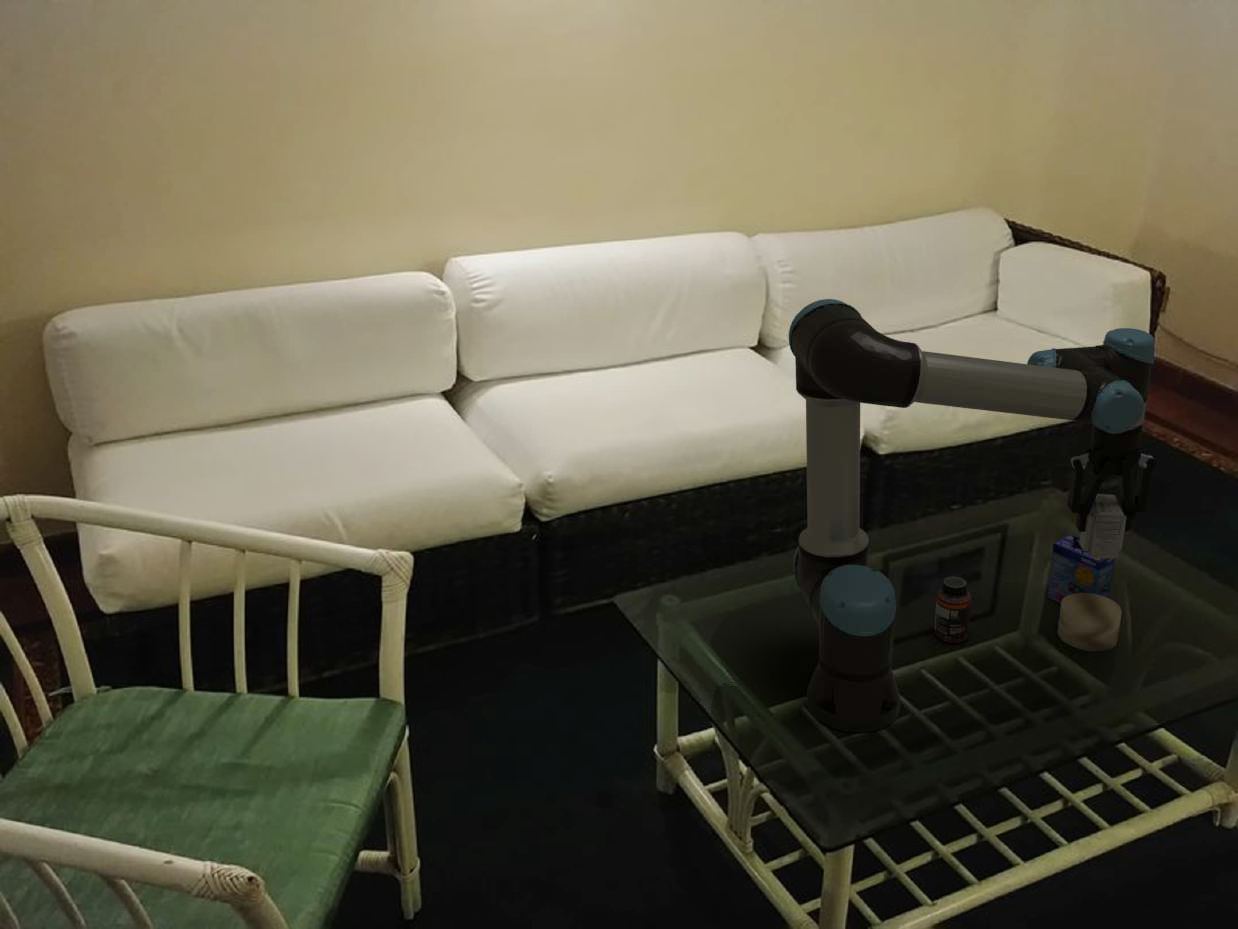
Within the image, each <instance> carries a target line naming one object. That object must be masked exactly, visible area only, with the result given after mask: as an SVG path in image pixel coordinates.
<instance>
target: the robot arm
mask: <svg viewBox="0 0 1238 929" xmlns="http://www.w3.org/2000/svg"><path fill="white" fill-rule="evenodd" d="M788 345H789V348H790V351H791V353H792V355H793V356H794V358H795V389H796V392H797V393H798V395H799V396H801V397H802V398H803V399H805V428H806V430H805V435H806V436H805V437H806V439H805V440H806V444H805V445H806V494H807V495H806V499H807V500H806V504H807V505H806V506H807V507H806V509H807V527H806V528H805V529H804V530H802V531H801V532H800V534H799V536H798V545H797V548H796V549H795V551H794V552H795V553H794V555H793V559H792V565H793V566H792V567H793V573H794V574H793V575H794V579H795V581H796V584H797V586H798V588H799V589H800V591H801V592H802V594H803V595H804V596H803V597H804V598H805V600H806V602H807V604H808V606H809V609H810V611H811V612H812V615H813V617H814V618H815V620H816V623H817V625H818V631H819V640H818V642H819V643H818V662H817V665H816V667H815V670H814V671H813V674H812V676H811V678H810V681H809V684H808V685H807V691H806V705H807V709H808V711H809V713H810V714H811V715H812V716H813V717H814V719H815V720H817V721H818V722H820V723H822V724H823V725H825V726H827V727H830V728H832V729H834V730H838V731H842V732H846V733H847V732H848V733H860V734H861V733H869V732H870V733H871V732H875V731H879V730H882V729H884V728H887V727H888V726H890V725H891V724H892V723H894V722H895V721H896V719H897V718H898V716H899V713H900V708H901V694H900V691H899V687H898V685H897V681H896V678H895V675H894V671H893V669H892V658H893V648H894V647H893V646H894V633H895V617H896V611H897V601H896V591H895V588H894V586H893V584H892V582H891V581H890V579H889V578H888V577H887V576H886V575H885V574H884V573H882V572H881V571H878V570H875V571H874V569H873V568H872V567H869V566H870V565H869V548H870V547H869V546H870V545H869V544H870V543H869V536H868V534H867V533H866V532H865V531H864V530H863V529H861V527H860V525H861V524H860V521H861V520H860V518H861V517H860V508H861V505H860V502H861V501H860V500H861V498H860V497H861V494H860V493H861V404H868V405H875V406H882V407H892V408H900V409H901V408H902V409H907V408H909V407H910V406H911V405H912V404H914V403H916V404H919V403H920V404H925V405H926V404H927V405H935V406H944V407H953V408H961V409H969V410H970V409H971V410H979V411H988V412H994V413H995V412H997V413H1003V414H1005V413H1006V414H1013V415H1023V416H1029V417H1030V416H1032V417H1039V418H1049V419H1057V420H1065V421H1074V422H1079V423H1080V422H1081V423H1088V424H1092V429H1091V430H1092V431H1091V438H1090V446H1089V448H1088V449H1087V451H1086V453H1085V454H1081V455H1078V456H1077V455H1076V454H1072V455H1070V456H1069V461H1070V465H1071V472H1070V473H1071V474H1070V481H1069V486H1068V488H1069V489H1068V496H1067V507H1068V509H1069V511H1070V512H1071V513H1072V514H1077V516H1076V524H1075V526H1076V529H1077V531H1078V532H1079V533H1080V534H1079V538H1080V540H1079V544H1080V546H1081V547H1082V549H1083V550H1084V551H1088V549H1089V542H1090V535H1091V528H1092V521H1093V517H1092V515H1091V514H1090V510H1091V508H1092V505H1093V503H1094V501H1095V498H1096V496H1097V494H1099V492H1100V489H1101V486H1102V484H1103V483H1104V482H1105V481H1106V478H1107V477H1110V476H1116V477H1117V480H1118V488H1119V489H1118V491H1119V495H1120V502H1121V505H1120V506H1121V510H1122V512H1123V514H1124V520H1123V526H1122V533H1121V540H1120V547H1119V552H1121V551H1122V549H1123V542H1124V537H1125V532H1130V530H1131V526H1132V525H1131V524H1132V521H1133V518H1135V517H1136V513H1141V514H1142V513H1144V512H1145V511H1146V508H1147V507H1146V506H1147V501H1148V496H1149V489H1150V483H1151V482H1150V481H1151V477H1152V472H1153V470H1154V468H1155V467H1156V465H1157V460H1156V459H1155V458H1154V457H1153V456H1152V454H1150V453H1146V454H1145V453H1141V450H1140V446H1141V441H1142V434H1143V428H1144V427H1143V426H1142V425H1143V423H1144V420H1145V415H1146V408H1147V402H1148V400H1147V399H1148V395H1149V389H1150V384H1151V376H1152V371H1153V365H1154V363H1155V351H1156V350H1155V349H1156V348H1155V345H1156V340H1155V338H1154V336H1153V335H1152V334H1151V333H1149V332H1147V331H1145V330H1141V329H1137V328H1130V327H1129V328H1126V327H1120V328H1115V329H1113V330H1112V329H1111V330H1109V331H1107V332H1106V334H1105V335H1104V340H1103V342H1102V344H1099V345H1093V346H1083V347H1081V346H1080V347H1067V348H1066V347H1065V348H1055V347H1054V348H1050V349H1044V350H1039V351H1038V350H1037V351H1035V352H1033V353H1032V354H1031V355H1030V356H1029V357H1028V360H1027V363H1021V362H1014V361H1006V360H1005V361H1004V360H997V359H988V358H981V357H980V358H979V357H974V356H973V357H972V356H965V355H956V354H950V353H949V354H948V353H940V352H933V351H926V350H925V351H924V350H922V349H921V348H920V346H919V345H918V344H917V343H914V342H909V341H902V340H898V339H895V338H891V337H890V336H887V335H886V334H885V335H884V334H883V333H881V332H879V331H878V330H876V328H874V327H873V326H872V325H871V324H870V323H869V322H868V321H867V320H866V319H864V318H863V316H862V314H861V313H860V312H859V311H858V310H857V309H856V308H855V307H854V306H852V305H850V304H848V303H846V302H844V301H841V300H838V299H836V298H835V299H834V298H825V299H820V300H819V299H818V300H815V301H813V302H811V303H809V304H807V305H806V306H804V307H802V309H801V310H800V311H799V312H798V313H796V315H795V316H794V318H793V319H792V321H791V323H790V327H789V330H788ZM1088 462H1090V463H1091V465H1092V469H1091V471H1090V476H1089V479H1088V481H1087V483H1086V486H1085V488H1084V490H1083V493H1082V488H1083V482H1084V481H1083V480H1084V470H1085V469H1086V468H1087V463H1088ZM1137 463H1138V470H1137V476H1136V482H1135V490H1134V494H1132V488H1131V475H1130V473H1131V472H1130V471H1131V469H1132V468H1133V467H1134V466H1135V465H1136V464H1137ZM1133 495H1134V496H1133Z"/></svg>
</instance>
